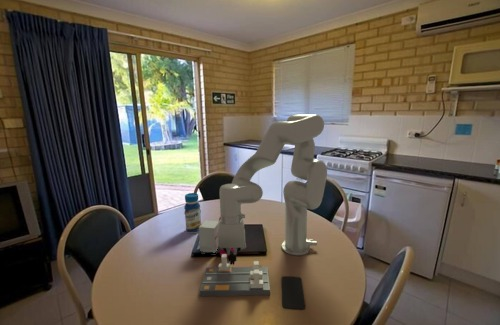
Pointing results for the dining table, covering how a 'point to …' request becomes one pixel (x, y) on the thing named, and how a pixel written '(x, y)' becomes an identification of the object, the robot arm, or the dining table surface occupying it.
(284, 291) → the phone
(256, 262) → the middle switch tab
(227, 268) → the back switch tab
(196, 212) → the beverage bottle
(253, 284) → the front switch tab
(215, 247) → the supplement box
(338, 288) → the dining table surface
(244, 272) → the switch panel
